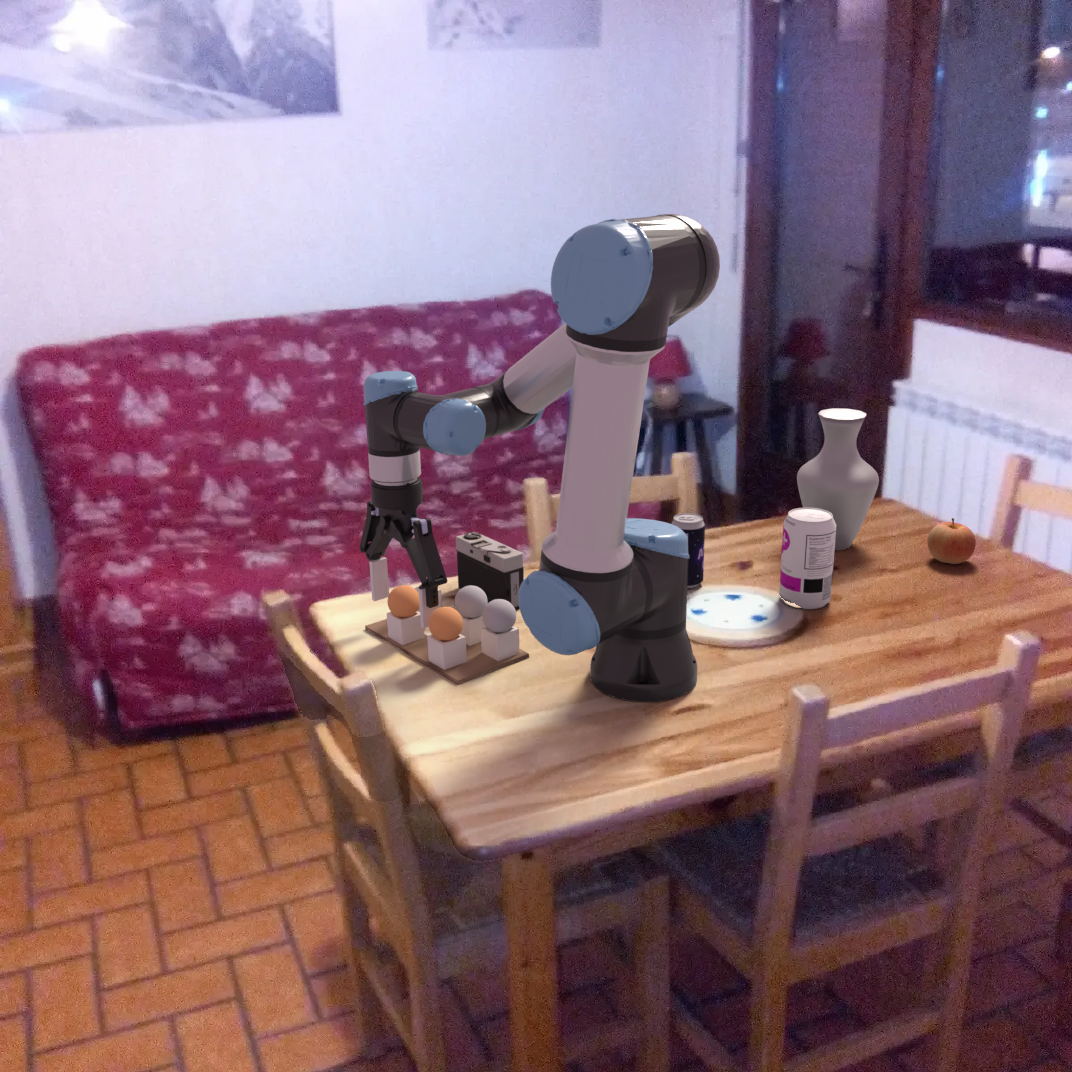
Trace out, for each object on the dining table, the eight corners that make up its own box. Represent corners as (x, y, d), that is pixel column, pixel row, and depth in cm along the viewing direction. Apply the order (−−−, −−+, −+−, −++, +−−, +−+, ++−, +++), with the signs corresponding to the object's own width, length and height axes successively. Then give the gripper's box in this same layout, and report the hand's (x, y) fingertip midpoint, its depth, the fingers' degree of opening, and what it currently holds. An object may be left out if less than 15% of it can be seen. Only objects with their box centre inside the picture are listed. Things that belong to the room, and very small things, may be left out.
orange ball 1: (428, 616, 171) (425, 585, 170) (400, 625, 168) (397, 594, 167) (410, 608, 175) (407, 578, 174) (382, 617, 172) (379, 586, 171)
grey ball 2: (523, 632, 166) (522, 600, 164) (496, 641, 163) (495, 610, 161) (502, 621, 169) (501, 590, 168) (476, 630, 166) (474, 599, 165)
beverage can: (701, 591, 189) (704, 524, 185) (668, 589, 190) (669, 522, 186) (704, 578, 195) (706, 513, 190) (671, 576, 196) (672, 511, 192)
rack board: (529, 657, 167) (528, 651, 167) (457, 684, 159) (457, 678, 159) (433, 607, 185) (433, 602, 185) (365, 629, 178) (365, 624, 177)
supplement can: (774, 607, 183) (780, 519, 177) (784, 588, 190) (789, 504, 185) (825, 613, 180) (832, 525, 175) (833, 594, 187) (840, 509, 182)
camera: (544, 601, 187) (543, 545, 183) (504, 614, 182) (502, 556, 179) (495, 577, 197) (493, 523, 194) (456, 589, 193) (453, 534, 189)
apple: (921, 552, 204) (925, 511, 201) (967, 554, 203) (972, 512, 200) (929, 569, 197) (934, 525, 194) (977, 570, 196) (982, 527, 193)
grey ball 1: (494, 617, 171) (493, 587, 169) (468, 626, 168) (466, 595, 166) (475, 607, 174) (473, 577, 173) (448, 616, 172) (447, 586, 170)
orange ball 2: (470, 640, 163) (469, 608, 162) (442, 650, 160) (440, 618, 159) (450, 629, 167) (449, 598, 165) (422, 638, 164) (420, 607, 162)
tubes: (519, 653, 167) (518, 628, 166) (456, 677, 160) (455, 651, 159) (428, 605, 184) (426, 582, 183) (367, 624, 178) (366, 601, 176)
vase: (887, 543, 209) (899, 411, 201) (848, 564, 199) (859, 427, 191) (818, 526, 219) (827, 400, 210) (778, 546, 209) (785, 414, 200)
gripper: (467, 492, 157) (473, 630, 165) (372, 456, 176) (381, 582, 183) (422, 503, 153) (430, 644, 160) (330, 465, 171) (341, 594, 178)
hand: (404, 611), depth 172 cm, fingers open, 13 cm apart
